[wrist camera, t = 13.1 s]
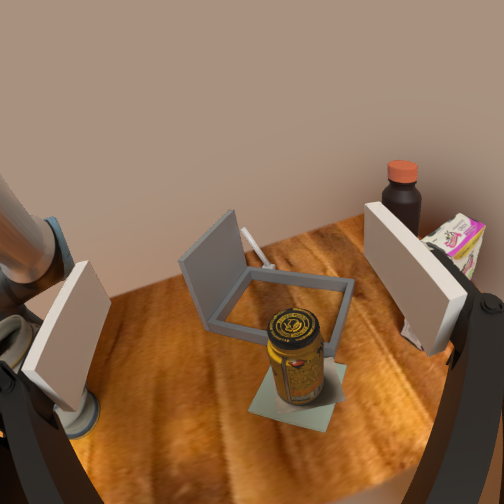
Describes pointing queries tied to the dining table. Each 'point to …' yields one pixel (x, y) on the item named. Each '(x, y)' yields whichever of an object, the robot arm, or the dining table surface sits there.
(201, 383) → the dining table surface
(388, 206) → the bottle
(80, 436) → the apothecary jar
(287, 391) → the condiment
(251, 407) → the pad
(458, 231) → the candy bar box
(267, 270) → the grey holder frame
